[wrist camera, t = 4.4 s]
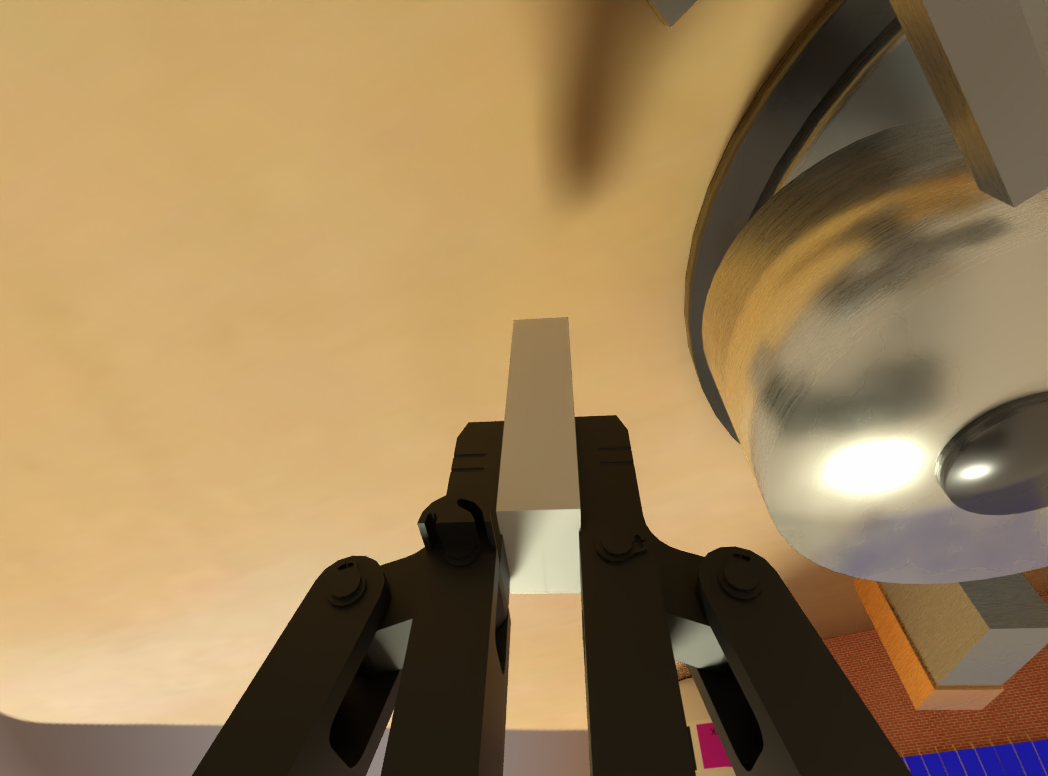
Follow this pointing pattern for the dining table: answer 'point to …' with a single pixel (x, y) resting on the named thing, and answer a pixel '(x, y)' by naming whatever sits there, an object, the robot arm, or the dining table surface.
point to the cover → (892, 362)
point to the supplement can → (703, 734)
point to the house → (953, 716)
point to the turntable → (947, 608)
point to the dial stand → (974, 85)
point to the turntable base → (769, 151)
